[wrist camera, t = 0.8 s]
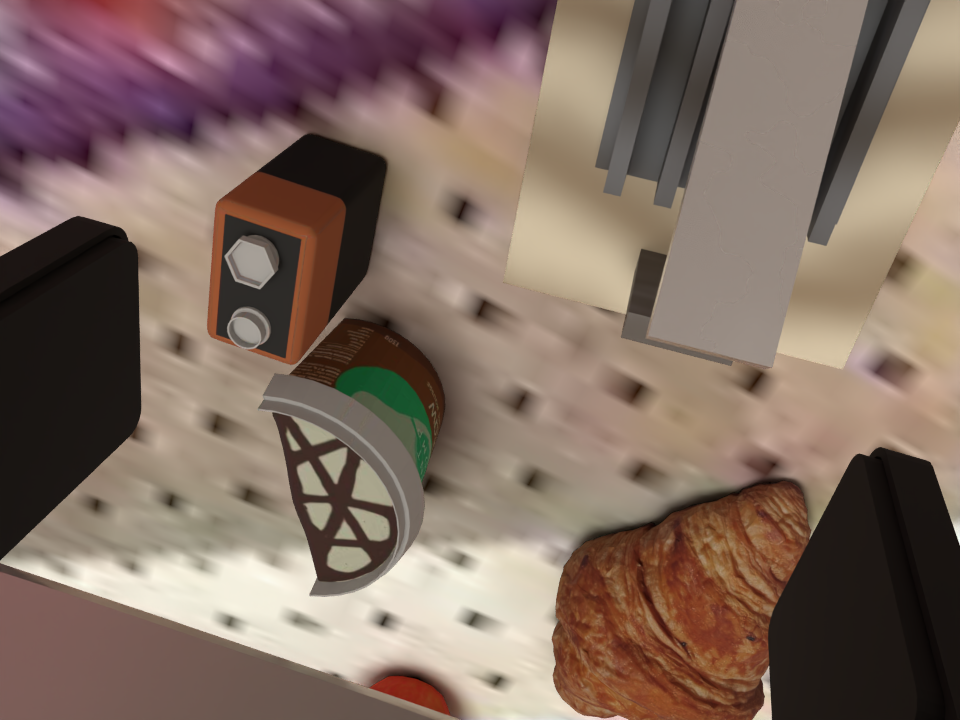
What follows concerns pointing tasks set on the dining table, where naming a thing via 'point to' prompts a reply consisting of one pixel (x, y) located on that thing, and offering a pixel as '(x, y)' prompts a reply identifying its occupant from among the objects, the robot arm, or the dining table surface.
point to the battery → (292, 246)
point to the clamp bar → (755, 177)
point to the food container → (357, 449)
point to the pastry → (679, 609)
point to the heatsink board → (671, 145)
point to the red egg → (412, 692)
